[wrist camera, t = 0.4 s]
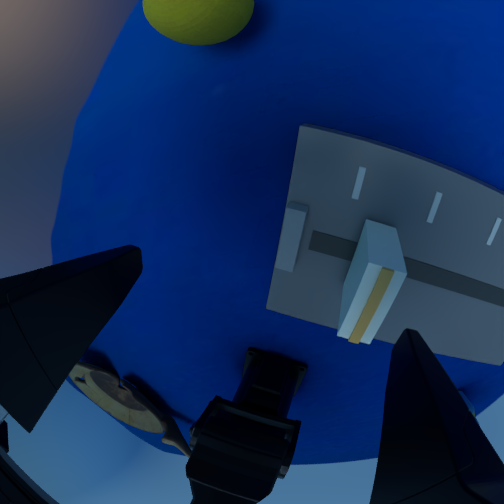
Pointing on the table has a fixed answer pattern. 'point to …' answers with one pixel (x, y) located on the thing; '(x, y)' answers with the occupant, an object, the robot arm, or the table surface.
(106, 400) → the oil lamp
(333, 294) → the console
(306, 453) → the table surface
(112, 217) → the table surface
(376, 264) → the fader tab
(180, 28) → the lemon
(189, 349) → the table surface
